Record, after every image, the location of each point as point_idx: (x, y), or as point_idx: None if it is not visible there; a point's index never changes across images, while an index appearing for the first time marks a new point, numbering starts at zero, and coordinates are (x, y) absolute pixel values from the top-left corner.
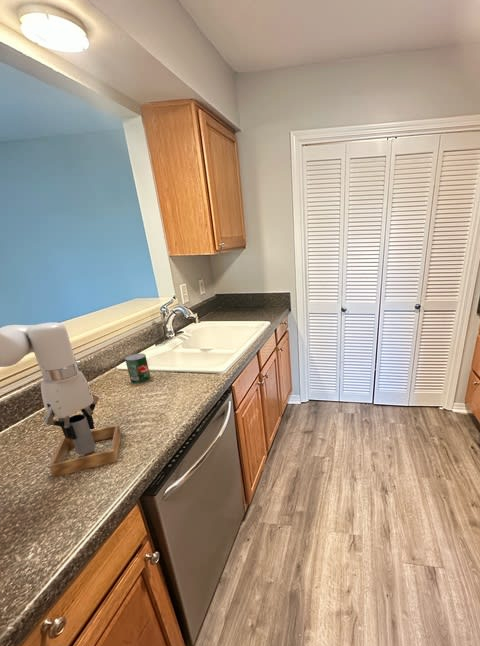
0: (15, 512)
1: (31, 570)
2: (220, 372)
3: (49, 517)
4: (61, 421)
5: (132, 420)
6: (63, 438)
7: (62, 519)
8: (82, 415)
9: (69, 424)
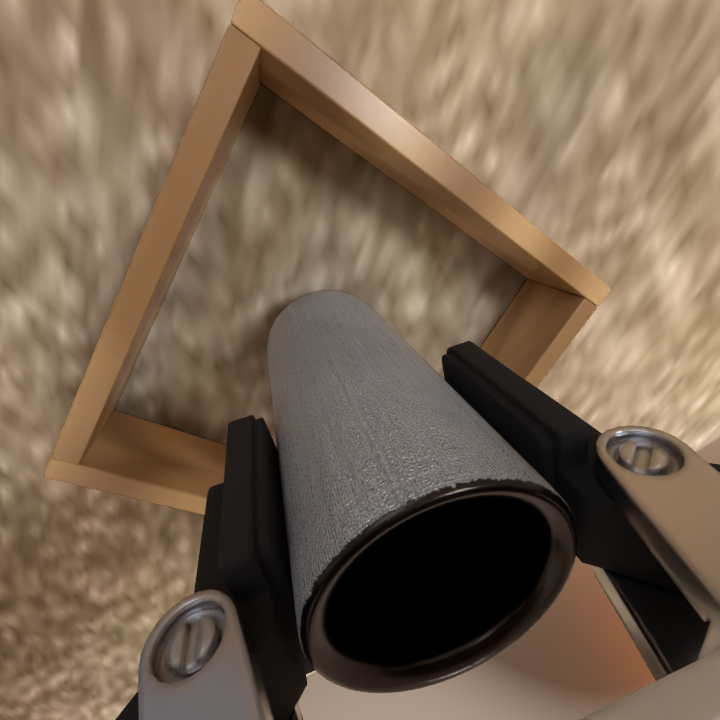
0: None
1: None
2: None
3: (41, 669)
4: (217, 718)
5: (693, 153)
6: (241, 57)
7: (88, 695)
8: (550, 540)
9: (300, 715)
